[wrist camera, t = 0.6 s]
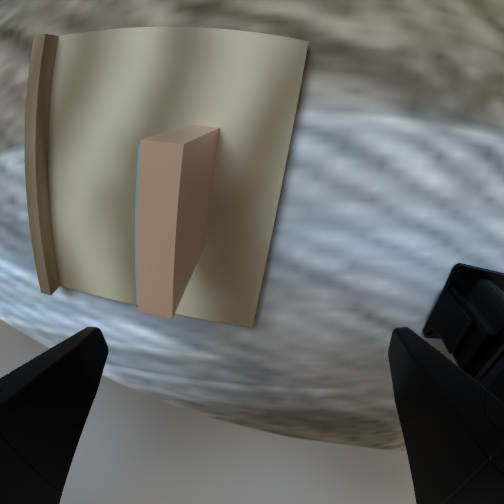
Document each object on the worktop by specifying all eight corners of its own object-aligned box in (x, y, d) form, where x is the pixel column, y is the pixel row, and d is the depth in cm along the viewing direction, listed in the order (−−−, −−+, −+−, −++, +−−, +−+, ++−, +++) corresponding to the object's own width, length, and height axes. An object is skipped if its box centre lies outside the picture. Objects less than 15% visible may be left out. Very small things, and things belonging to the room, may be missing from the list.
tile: (219, 127, 16) (183, 144, 10) (204, 246, 19) (172, 319, 13) (189, 124, 16) (136, 139, 10) (178, 241, 19) (135, 311, 13)
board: (306, 44, 14) (311, 36, 12) (253, 319, 22) (250, 341, 20) (56, 39, 14) (34, 36, 12) (56, 276, 22) (41, 292, 20)
